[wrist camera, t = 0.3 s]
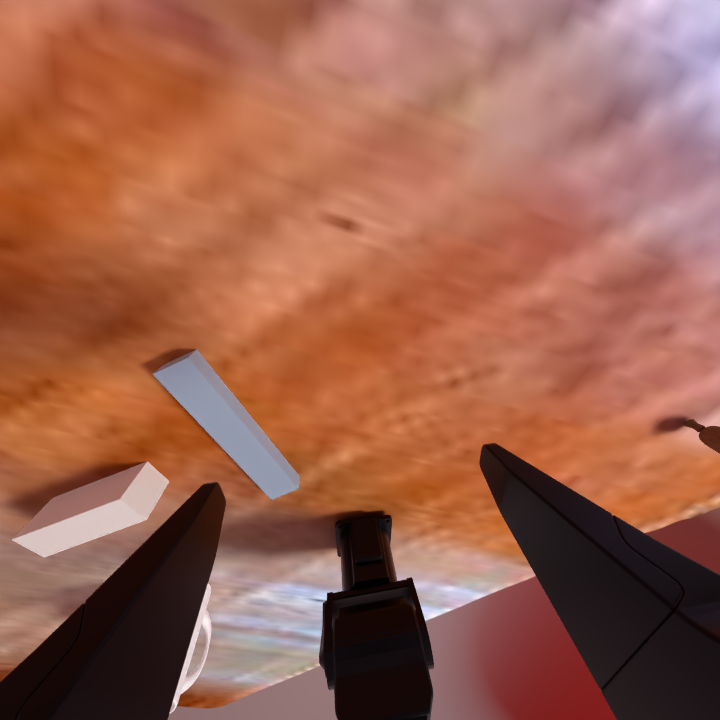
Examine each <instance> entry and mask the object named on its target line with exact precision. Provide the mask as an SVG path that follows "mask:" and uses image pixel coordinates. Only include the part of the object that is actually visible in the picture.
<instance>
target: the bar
mask: <svg viewBox="0 0 720 720" xmlns="http://www.w3.org/2000/svg"><path fill="white" fill-rule="evenodd" d="M153 375H154V376H155V378H156V379H157V380H158V381H159V382H160V383H161V384H162V385H163V386H164V387H165V388H166V389H167V390H168V391H169V392H170V393H171V394H172V395H173V397H174V398H175V399H176V400H177V401H178V402H179V403H180V404H181V405H182V406H183V407H184V408H185V409H186V410H187V411H188V412H189V413H190V414H191V415H192V417H193V418H194V419H195V420H196V421H197V422H198V423H199V424H200V425H201V426H202V427H203V428H204V429H205V430H206V431H207V432H208V433H209V434H210V436H211V437H212V438H213V439H214V440H215V441H216V442H217V443H218V444H219V445H220V446H221V447H222V448H223V449H224V450H225V451H226V452H227V453H228V455H229V456H230V457H231V458H232V459H233V460H234V461H235V462H236V463H237V464H238V465H239V466H240V467H241V468H242V469H243V470H244V471H245V472H246V474H247V475H248V476H249V477H250V478H251V479H252V480H253V481H254V482H255V483H256V484H257V485H258V486H259V487H260V488H261V489H262V490H263V491H264V492H265V494H266V495H267V496H268V497H269V498H270V499H271V500H272V499H274V498H277V497H279V496H282V495H284V494H287V493H289V492H292V491H294V490H297V489H299V479H300V476H299V475H298V474H297V473H296V471H295V470H294V469H293V468H292V466H291V465H290V464H289V463H288V461H287V460H286V459H285V458H284V457H283V455H282V454H281V453H280V452H279V450H278V449H277V448H276V447H275V445H274V444H273V443H272V442H271V440H270V439H269V438H268V437H267V436H266V434H265V433H264V432H263V431H262V429H261V428H260V427H259V426H258V424H257V423H256V422H255V421H254V419H253V418H252V417H251V416H250V415H249V413H248V412H247V411H246V410H245V408H244V407H243V406H242V405H241V403H240V402H239V401H238V400H237V398H236V397H235V396H234V395H233V394H232V392H231V391H230V390H229V389H228V387H227V386H226V385H225V384H224V382H223V381H222V380H221V379H220V377H219V376H218V375H217V374H216V373H215V371H214V370H213V369H212V368H211V366H210V365H209V364H208V363H207V361H206V360H205V359H204V358H203V356H202V355H201V354H200V353H199V352H198V350H197V349H196V350H194V351H192V352H189V353H187V354H185V355H183V356H181V357H179V358H177V359H174V360H172V361H170V362H168V363H166V364H164V365H162V366H161V367H160V368H159V369H158V370H156V371H155V372H154V373H153Z"/></svg>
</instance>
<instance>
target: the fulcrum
mask: <svg viewBox="0 0 720 720" xmlns="http://www.w3.org/2000/svg"><path fill="white" fill-rule="evenodd" d="M168 483H169V481H168V480H167V479H166V478H165V477H164V476H163V475H162V474H161V473H160V472H158V471H157V470H156V469H155V468H154V467H153V466H152V465H151V464H150V463H149V462H148V461H147V462H145V463H142V464H139V465H137V466H134V467H132V468H129V469H126V470H124V471H121V472H118V473H116V474H113V475H111V476H108V477H105V478H103V479H100V480H98V481H95V482H92V483H90V484H87V485H84V486H82V487H79V488H77V489H74V490H71V491H69V492H66V493H64V494H61V495H58V496H56V497H53V498H52V499H51V500H50V501H49V502H48V503H47V504H46V505H45V506H44V507H43V508H42V509H41V510H40V511H39V512H38V513H37V514H36V515H35V516H34V517H33V518H32V519H31V520H30V521H29V522H28V523H27V524H26V525H25V527H24V528H23V529H22V530H21V531H20V532H19V533H18V534H17V535H16V536H15V537H14V538H13V539H12V540H13V541H15V542H17V543H18V544H20V545H22V546H24V547H26V548H27V549H29V550H31V551H33V552H35V553H37V554H38V555H40V556H42V557H47V556H50V555H53V554H55V553H58V552H61V551H63V550H66V549H69V548H72V547H74V546H77V545H80V544H82V543H85V542H88V541H91V540H93V539H96V538H99V537H101V536H104V535H107V534H110V533H112V532H115V531H118V530H120V529H123V528H126V527H129V526H131V525H134V524H137V523H139V522H142V521H145V520H147V518H148V517H149V515H150V513H151V512H152V510H153V508H154V507H155V505H156V503H157V502H158V500H159V498H160V496H161V495H162V493H163V491H164V490H165V488H166V486H167V485H168Z"/></svg>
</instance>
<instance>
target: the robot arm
mask: <svg viewBox="0 0 720 720" xmlns="http://www.w3.org/2000/svg"><path fill="white" fill-rule="evenodd" d="M480 468H481V470H482V472H483V475H484V477H485V479H486V481H487V484H488V486H489V488H490V490H491V493H492V495H493V497H494V499H495V502H496V504H497V506H498V508H499V510H500V512H501V514H502V516H503V518H504V520H505V522H506V523H507V525H508V527H509V529H510V530H511V532H512V534H513V536H514V537H515V539H516V541H517V543H518V545H519V546H520V548H521V550H522V552H523V553H524V555H525V557H526V559H527V561H528V562H529V564H530V566H531V568H532V569H533V571H534V573H535V575H536V577H537V578H538V580H539V582H540V583H541V585H542V587H543V589H544V591H545V592H546V594H547V596H548V598H549V599H550V601H551V603H552V605H553V607H554V608H555V610H556V612H557V614H558V616H559V617H560V619H561V621H562V623H563V624H564V626H565V628H566V630H567V632H568V633H569V635H570V637H571V639H572V640H573V642H574V644H575V646H576V647H577V649H578V651H579V653H580V654H581V656H582V658H583V660H584V661H585V663H586V665H587V667H588V669H589V671H590V672H591V674H592V675H593V678H594V679H595V681H596V683H597V685H598V686H599V688H600V689H601V692H602V694H603V696H604V697H605V699H606V701H607V703H608V705H609V706H610V708H611V710H612V712H613V714H614V715H615V717H616V719H617V720H720V575H719V574H717V573H715V572H714V571H712V570H710V569H708V568H706V567H704V566H702V565H701V564H699V563H697V562H695V561H693V560H691V559H690V558H688V557H686V556H684V555H682V554H680V553H678V552H677V551H675V550H673V549H671V548H670V547H668V546H666V545H664V544H662V543H660V542H659V541H657V540H655V539H653V538H652V537H650V536H648V535H646V534H645V533H643V532H641V531H640V530H638V529H636V528H635V527H633V526H631V525H630V524H628V523H626V522H625V521H623V520H621V519H620V518H618V517H616V516H614V515H613V516H612V514H611V513H610V512H608V511H606V510H605V509H603V508H601V507H600V506H598V505H596V504H595V503H593V502H591V501H590V500H588V499H586V498H585V497H583V496H582V495H580V494H578V493H577V492H575V491H573V490H572V489H570V488H568V487H567V486H565V485H563V484H562V483H560V482H558V481H557V480H555V479H553V478H552V477H550V476H549V475H547V474H545V473H544V472H542V471H540V470H539V469H537V468H535V467H534V466H532V465H530V464H529V463H527V462H525V461H524V460H522V459H521V458H519V457H517V456H516V455H514V454H512V453H511V452H509V451H507V450H506V449H504V448H502V447H501V446H499V445H497V444H495V443H491V444H484V445H483V446H482V450H481V455H480ZM225 506H226V500H225V497H224V494H223V492H222V490H221V487H220V485H219V483H217V482H212V483H206V484H203V485H202V486H201V487H200V488H199V489H198V490H197V491H196V492H195V493H194V494H193V495H192V496H191V497H190V498H189V499H188V500H187V501H186V502H185V503H184V504H183V505H182V506H181V507H180V508H179V509H178V510H177V511H176V512H175V513H174V514H173V515H172V516H171V517H170V518H169V519H168V520H167V521H166V522H165V523H164V524H163V525H162V526H161V527H160V528H159V529H158V530H157V531H155V532H154V533H153V534H152V535H151V536H150V537H149V538H148V539H147V540H146V541H145V542H144V543H143V544H142V545H141V546H140V547H139V548H138V549H137V550H136V551H135V552H134V553H133V554H132V555H131V556H130V557H129V558H128V559H127V560H126V561H125V562H124V563H123V564H122V565H121V566H120V567H119V568H118V569H117V570H116V571H115V572H114V573H113V574H112V575H111V576H110V577H109V578H108V579H107V580H106V581H105V582H104V583H103V584H102V585H101V586H100V587H99V588H98V589H97V590H96V591H95V592H94V593H93V594H92V595H91V596H90V597H89V598H88V599H87V600H86V602H85V603H84V604H82V605H81V606H80V607H79V608H78V609H77V610H76V611H75V612H74V613H73V614H72V615H71V616H70V617H69V618H68V619H67V620H66V621H64V622H63V623H62V624H61V625H60V626H59V627H58V628H57V629H56V630H55V631H54V632H53V633H52V634H51V635H50V636H49V637H48V638H47V639H46V640H45V641H44V642H43V643H42V644H41V645H40V646H39V647H38V648H36V649H35V650H34V651H33V652H32V653H31V654H30V655H29V656H28V657H27V658H26V659H25V660H24V661H22V662H21V663H20V664H19V665H18V666H17V667H16V668H15V669H14V670H13V671H12V672H11V673H9V674H8V675H7V676H6V677H5V678H4V679H3V680H2V681H1V682H0V720H167V719H168V716H169V713H170V709H171V706H172V702H173V699H174V696H175V692H176V689H177V686H178V682H179V679H180V676H181V672H182V669H183V665H184V662H185V659H186V655H187V652H188V649H189V645H190V642H191V638H192V635H193V632H194V628H195V625H196V622H197V618H198V615H199V611H200V608H201V605H202V601H203V598H204V595H205V591H206V588H207V584H208V581H209V578H210V574H211V571H212V568H213V564H214V560H215V557H216V552H217V547H218V542H219V537H220V532H221V527H222V521H223V516H224V511H225ZM335 527H336V540H337V553H338V556H339V557H341V570H342V590H343V591H341V592H336V593H333V592H330V593H327V601H325V602H324V603H323V626H322V636H321V645H320V653H319V663H320V665H321V666H322V667H323V669H324V670H325V675H326V678H327V684H328V689H329V690H333V689H334V693H335V712H336V716H337V719H338V720H430V716H431V708H432V700H433V688H432V683H431V679H430V675H429V670H430V669H433V668H434V662H433V655H432V650H431V644H430V640H429V635H428V631H427V627H426V623H425V619H424V616H423V613H422V609H421V606H420V603H419V599H418V596H417V593H416V589H415V586H414V583H413V579H412V577H411V578H407V580H401V581H397V577H396V572H395V567H394V562H393V557H392V553H391V548H390V541H391V527H392V518H391V516H390V515H383V516H375V517H366V518H358V519H349V520H341V521H337V522H336V523H335Z"/></svg>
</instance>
